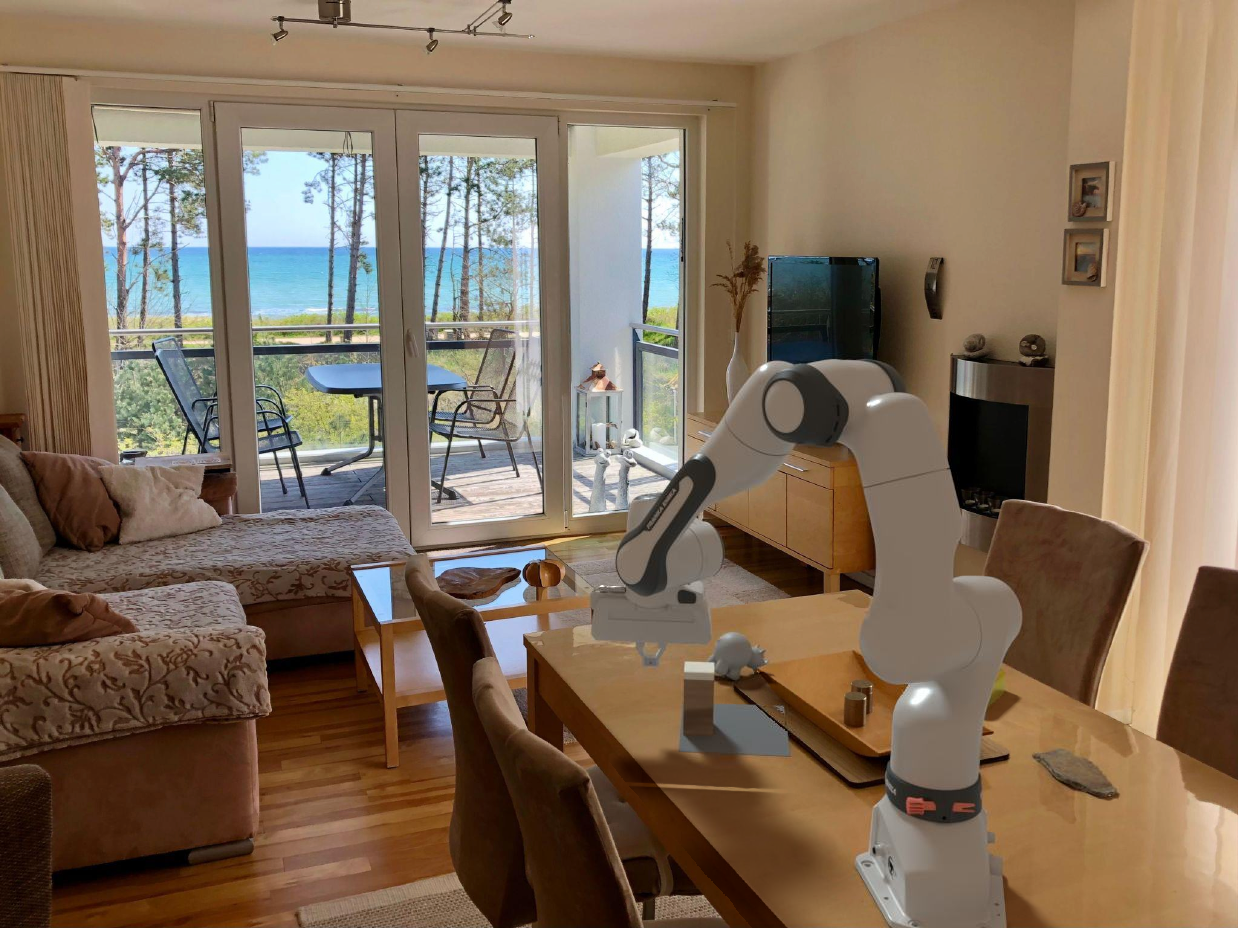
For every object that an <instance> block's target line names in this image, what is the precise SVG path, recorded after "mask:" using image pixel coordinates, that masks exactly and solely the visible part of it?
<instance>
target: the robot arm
mask: <svg viewBox="0 0 1238 928" xmlns="http://www.w3.org/2000/svg"><path fill="white" fill-rule="evenodd" d="M836 443H839V444H841V445H844V446H846V447H847V448H848V449H849V450H850V451H851V452H852V454H853V455H854V458H855V460H856V464H857V466H858V470H859V471H858V472H859V475H860V476H859V477H860V481H861V486H862V490H863V493H864V499H865V502H866V506H867V511H868V515H869V519H870V523H871V524H870V525H871V529H872V533H873V534H872V535H873V539H874V545H875V577H874V578H875V579H874V588H873V594H872V600H871V603H870V607H869V609H868V610H867V611H868V612H867V613H866V615H865V617H864V618H863V620H862V622H861V625H860V628H859V634H858V641H859V642H858V643H859V649H860V653H861V656H862V658H863V659H864V662H865V664H866V665H867V667H868V669H869V670H870V671H871V672H872V673H873V675H874V676H876V677H877V678H879V679H880V680H882V681H884V682H886V683H888V684H892V685H896V686H897V685H903V684H908V686H907V687H906V689H905V691H904V692H903V691H902V693H903V694H901V695H900V696H899V698H898V700H897V701H896V704H895V706H894V709H893V713H892V726H891V742H890V743H891V745H890V760H889V761H887V765H886V771H885V775H884V783H885V784H884V785H885V786H884V787H885V790H884V791H885V795H883V797H882V798H881V799H880V800H879V801H878V802H877V803H875V805H874V806H873V807H872V812H871V823H870V834H869V842H868V851H865V852H863V853H860V854H858V855H857V856H856V858H855V863H854V867H855V868H856V871H857V872H858V874H859V875H860V877H861V878H862V880H863V882H864V884H865V886H866V888H867V889H868V891H869V893H870V894H871V896H872V898H873V899H874V902H875V903H876V905H877V907H878V908H879V910H880V912H881V914H882V915H883V917H884V919H885V921H886V922H887V924H888V926H889V927H890V928H1007V927H1008V926H1007V915H1006V914H1007V913H1006V904H1005V893H1004V892H1005V891H1004V881H1003V866H1004V865H1003V862H1004V861H1003V857H1002V856H1001V855H994V853H989V846H988V844H995V843H996V832H993V831H988V829H987V828H988V818H989V817H988V816H989V812H988V811H987V810H986V808H984V807H983V797H984V795H983V791H984V789H983V784H982V783H983V782H982V774H981V772H980V763H981V762H980V761H981V752H982V751H981V749H982V739H983V730H984V729H983V728H984V721H985V718H986V712H987V709H988V708H987V705H988V702H989V699H990V696H991V693H992V690H993V687H994V684H995V681H996V678H997V675H998V672H999V669H1001V666H1002V664H1003V661H1004V658H1005V655H1006V653H1007V651H1008V650H1009V648H1010V646H1011V645H1012V643H1013V642H1014V640H1015V639H1016V637H1017V636H1018V634H1019V632H1020V631H1021V628H1022V624H1023V610H1022V605H1021V603H1020V601H1019V599H1018V597H1017V595H1016V593H1015V591H1013V589H1012V588H1011V587H1010V586H1009V585H1008V584H1007V583H1006V582H1004V581H1002V580H1001V579H999V578H996V577H992V576H985V575H960V576H956V577H954V564H955V563H954V560H955V554H956V550H957V547H958V544H959V543H960V540H961V539H962V536H963V533H964V520H963V515H962V513H961V508H960V504H959V499H958V496H957V493H956V492H957V491H956V489H955V487H956V486H955V483H954V480H953V476H952V472H951V469H950V465H949V461H948V457H947V454H946V451H945V447H944V445H943V441H942V439H941V436H940V434H939V430H938V428H937V426H936V423H935V422H934V419H933V417H932V415H931V412H930V410H929V409H928V406H927V405H926V403H925V402H924V401H923V400H922V399H921V398H919V397H918V396H916V395H914V394H912V393H907V389H906V384H905V381H904V380H903V377H902V376H901V375H900V373H899V372H898V371H897V369H895V368H894V367H893V366H892V365H890V364H889V363H885V362H882V361H879V360H875V359H868V358H862V359H856V360H854V359H853V360H852V359H845V360H844V359H836V358H834V359H823V360H819V361H813V362H808V363H796V364H794V363H791V362H787V361H783V360H772V361H768V362H766V363H763V364H762V365H759V367H758V368H756V370H755V371H754V372H753V373H752V375H750V377H749V378H748V379H747V380H746V382H744V384H743V385H742V386H741V388H740V389H739V391H738V392H737V394H736V395H735V396H734V398H733V400H732V401H731V403H730V405H729V407H727V409H726V412H725V413H724V415H723V416H722V418H721V420H720V422H719V423H718V425H717V426H716V427H715V428H714V430H713V431H712V433H711V434H710V435H709V436H708V438H707V439H706V441H705V442H704V443H703V444H702V445H701V447H699V448H698V450H696V452H695V453H694V454H693V455H692V456H691V457H689V459H688V460H687V461H686V462H685V463H684V464H683V465H682V466H681V467H680V468H679V469H678V471H677V472H676V473H675V474H674V476H673V478H672V479H671V480H670V482H669V483H668V484H667V485H666V487H665V488H664V490H663V491H662V492H654V493H653V492H650V493H646V494H641V495H637V496H636V497H634V498H633V499H632V500H631V502H630V504H629V508H628V513H627V520H626V534H625V535H624V536H623V537H622V539H621V541H620V542H619V545H618V547H617V551H616V555H615V563H614V564H615V570H616V573H617V575H618V577H619V580H621V582H622V583H623V584H624V586H623V585H614V586H613V585H612V586H611V585H599V586H598V587H595V588H594V589H593V590H591V593H590V594H589V604H590V605H589V606H590V608H591V609H592V610H593V613H592V618H591V619H592V620H591V625H590V626H591V627H590V634H591V636H592V638H593V639H594V640H595V641H598V642H600V641H601V642H626V643H635V650H636V651H637V653H638V654H639V656H640V657H641V667H642V668H643V667H646V668H660V666H661V665H660V664H661V663H660V662H661V661H660V660H661V658H662V656H663V654H664V653H665V651H666V649H667V645H668V644H673V645H696V646H697V645H698V646H707V645H708V644H709V643H711V641H712V617H711V610H710V605H709V602H708V601H707V600H706V598H705V597H706V587H705V584H704V582H702V581H704V580H707V579H710V578H712V577H714V576H716V575H717V574H718V573H719V572H720V571H721V569H722V567H723V564H724V561H725V556H726V555H725V545H724V540H723V538H722V535H721V534H720V532H719V530H718V529H717V528H716V527H715V526H713V524H711V523H710V522H708V521H703V520H701V519H699V518H698V516H699V515H700V514H701V513H702V512H704V511H705V510H706V509H708V508H709V507H711V506H712V505H715V504H716V503H718V502H721V501H722V500H725V499H726V498H727V499H728V498H729V497H732V496H735V495H738V494H739V493H743V492H745V491H748V490H751V489H754V488H756V487H759V486H761V485H764V484H765V483H766V482H768V481H769V480H770V479H771V478H772V477H773V476H774V475H775V474H777V472H778V471H779V470H780V469H781V468H782V467H783V465H784V463H785V462H786V461H787V459H788V458H789V456H790V454H791V453H792V452H793V450H794V448H795V446H796V445H801V446H810V447H819V448H828V449H829V448H833V447H834V445H835V444H836ZM646 643H647V644H648V643H651V644H657V649H658V651H657V652H656V653H655V654H654V653H647V652H646V650H645V644H646Z"/></svg>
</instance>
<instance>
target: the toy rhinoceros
mask: <svg viewBox="0 0 1238 928" xmlns="http://www.w3.org/2000/svg"><path fill="white" fill-rule="evenodd" d="M765 653H766V649H760V643H757V644H756V645H755V646H752V645H751V643H750V641H749V639H748V638H747V637H746V636H745V635H744V634H742V633H739V632H736V631H730V632H725V633H724V634H722V635H720V637H719V638H718V639H717V640H716V642H715V644H714V649H713V653H712V654H711V655H710V656H709V657H708V658H707V660H706V662H713V663H714V674H716V675H717V674H718V675H720V676H726V677H727V678H729V680H733V681H738V680H739V679H740V677H741V672H742V669H743V668H745V667H747V668H748V669H752V671H753V672H754V673H756V674H758V673H757V667H761V666H764V665H767V666H768V665H769V664H770V657H768V658H767V660H766V658H765V655H764V654H765Z"/></svg>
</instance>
